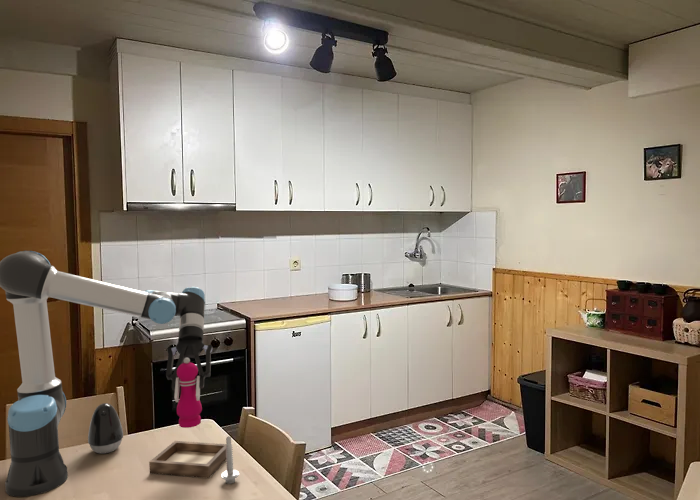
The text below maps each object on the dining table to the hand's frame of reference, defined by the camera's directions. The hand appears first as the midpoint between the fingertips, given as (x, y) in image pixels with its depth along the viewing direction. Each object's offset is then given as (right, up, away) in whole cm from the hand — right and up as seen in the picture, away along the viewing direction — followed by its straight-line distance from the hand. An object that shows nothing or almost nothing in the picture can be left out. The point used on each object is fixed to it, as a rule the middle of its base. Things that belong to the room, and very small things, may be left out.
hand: (187, 399), depth 155 cm
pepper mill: (0, -9, +4) cm, 10 cm away
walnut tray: (0, -21, +5) cm, 21 cm away
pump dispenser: (-31, -21, +16) cm, 41 cm away
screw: (+14, -21, -6) cm, 26 cm away
